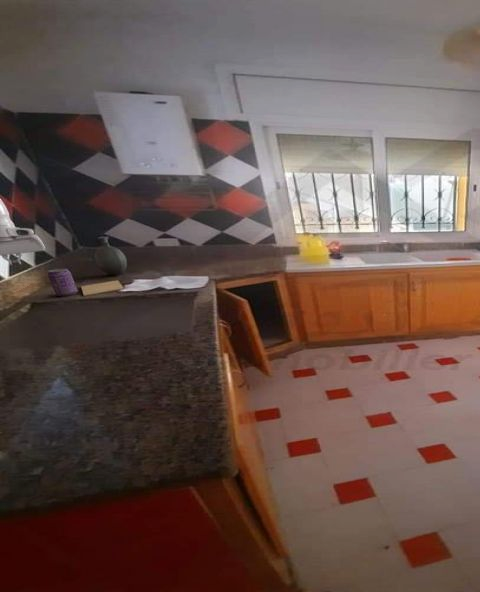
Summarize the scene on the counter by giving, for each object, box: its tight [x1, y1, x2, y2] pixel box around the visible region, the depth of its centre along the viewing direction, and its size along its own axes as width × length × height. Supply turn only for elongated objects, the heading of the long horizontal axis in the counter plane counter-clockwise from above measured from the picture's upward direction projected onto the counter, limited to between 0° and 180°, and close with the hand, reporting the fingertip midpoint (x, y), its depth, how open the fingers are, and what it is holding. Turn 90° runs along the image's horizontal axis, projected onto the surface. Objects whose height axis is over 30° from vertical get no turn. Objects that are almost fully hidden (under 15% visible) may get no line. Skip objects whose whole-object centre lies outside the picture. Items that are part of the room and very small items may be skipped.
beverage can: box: [47, 268, 79, 297], centre depth 148 cm, size 7×7×12 cm
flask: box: [94, 236, 128, 276], centre depth 178 cm, size 12×17×22 cm
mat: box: [80, 279, 124, 297], centre depth 159 cm, size 14×20×1 cm
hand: (16, 264), depth 137 cm, fingers closed
